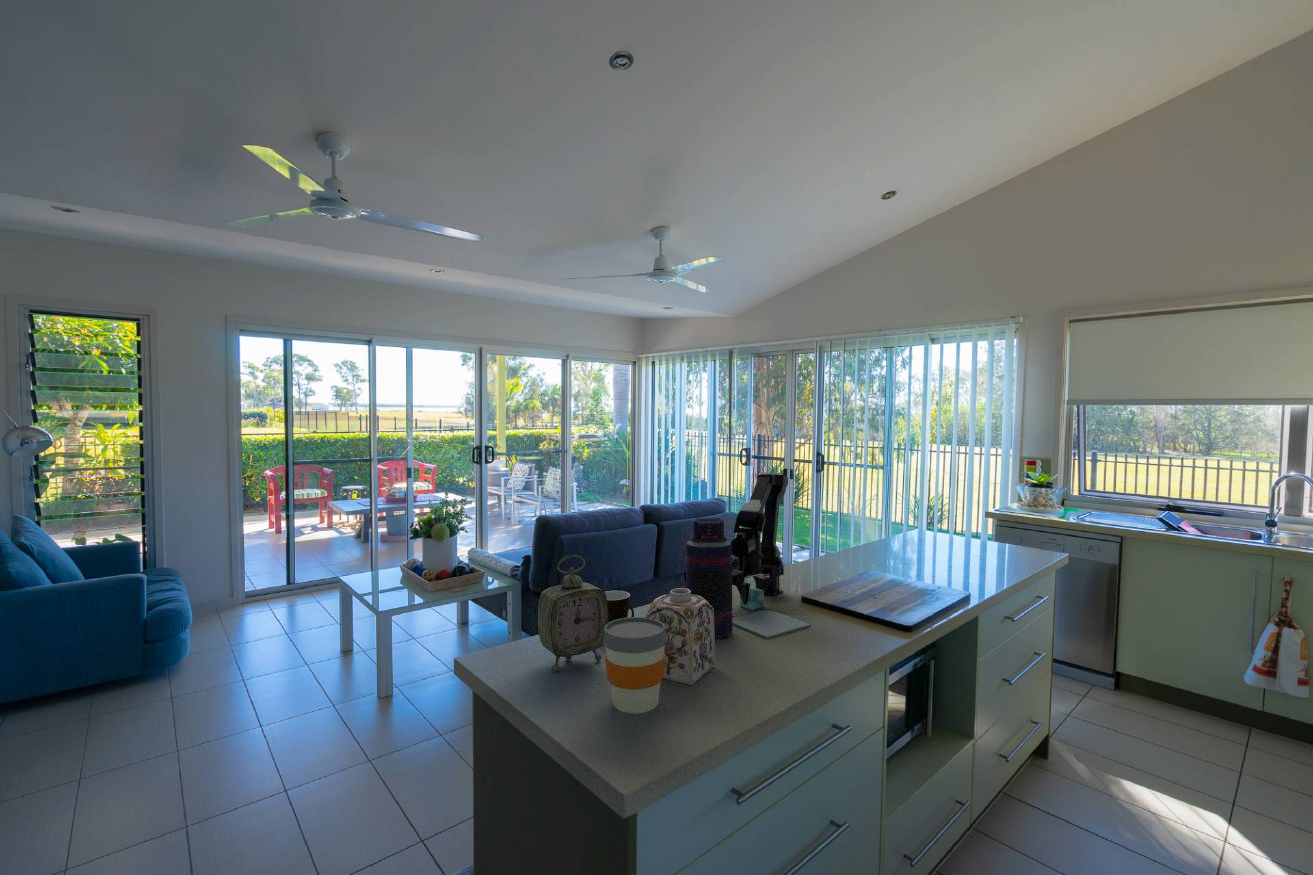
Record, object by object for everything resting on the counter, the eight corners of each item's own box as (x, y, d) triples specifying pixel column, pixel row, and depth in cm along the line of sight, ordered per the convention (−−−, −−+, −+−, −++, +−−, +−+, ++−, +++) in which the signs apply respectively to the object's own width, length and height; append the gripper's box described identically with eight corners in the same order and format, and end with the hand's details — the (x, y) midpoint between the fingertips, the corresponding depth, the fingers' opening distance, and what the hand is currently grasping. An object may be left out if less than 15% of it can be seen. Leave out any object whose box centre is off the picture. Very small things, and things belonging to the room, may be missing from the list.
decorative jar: (716, 666, 132) (715, 587, 132) (693, 687, 122) (692, 601, 122) (670, 656, 138) (669, 581, 138) (644, 675, 128) (643, 593, 128)
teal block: (752, 602, 179) (752, 586, 178) (763, 606, 174) (763, 590, 174) (739, 605, 176) (739, 589, 176) (751, 610, 172) (751, 593, 172)
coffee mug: (594, 629, 157) (594, 592, 157) (625, 625, 160) (625, 589, 160) (604, 644, 146) (603, 605, 146) (637, 640, 149) (636, 601, 149)
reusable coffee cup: (594, 696, 118) (593, 623, 118) (649, 683, 124) (649, 613, 124) (619, 724, 107) (618, 643, 107) (679, 708, 113) (678, 631, 112)
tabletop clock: (550, 677, 128) (549, 563, 127) (535, 663, 135) (533, 555, 135) (609, 661, 136) (607, 554, 135) (591, 649, 143) (589, 547, 143)
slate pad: (768, 611, 171) (768, 609, 171) (810, 626, 157) (810, 624, 157) (726, 621, 162) (726, 619, 162) (766, 639, 149) (766, 636, 149)
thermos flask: (735, 642, 147) (734, 523, 146) (687, 642, 147) (686, 523, 146) (729, 623, 160) (728, 514, 160) (686, 624, 161) (684, 515, 160)
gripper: (755, 542, 187) (756, 591, 187) (709, 550, 176) (710, 601, 177) (781, 548, 177) (781, 599, 178) (734, 557, 167) (734, 611, 167)
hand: (751, 602), depth 175 cm, fingers closed on teal block, 5 cm apart
